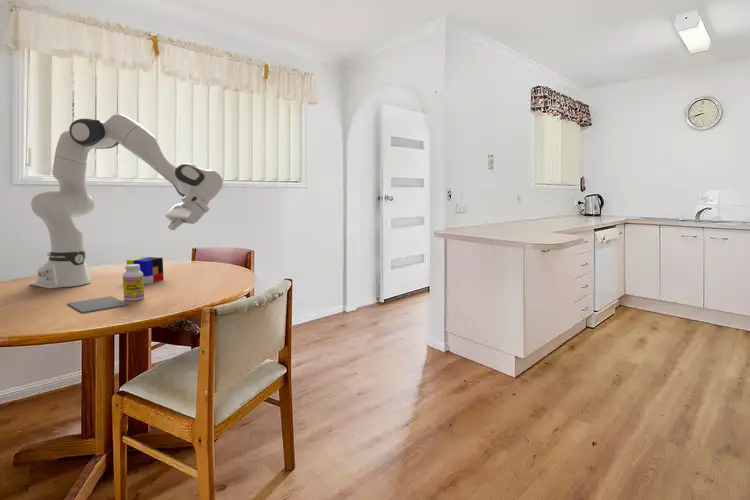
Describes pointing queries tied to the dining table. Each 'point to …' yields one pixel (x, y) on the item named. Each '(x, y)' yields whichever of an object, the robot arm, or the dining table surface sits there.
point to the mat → (97, 304)
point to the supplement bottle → (133, 283)
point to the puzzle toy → (149, 268)
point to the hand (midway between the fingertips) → (170, 228)
